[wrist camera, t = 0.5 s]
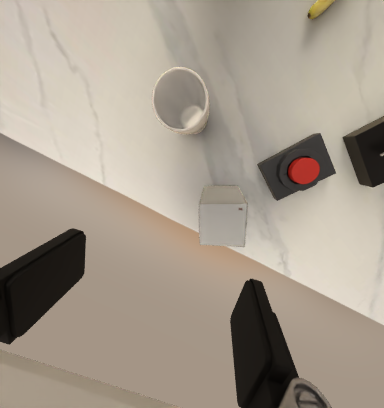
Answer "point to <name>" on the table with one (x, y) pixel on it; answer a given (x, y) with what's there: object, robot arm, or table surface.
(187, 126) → the drinking glass
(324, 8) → the banana
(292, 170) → the red push button
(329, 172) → the box
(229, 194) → the white packaging box
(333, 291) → the table surface
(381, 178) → the black flat block
